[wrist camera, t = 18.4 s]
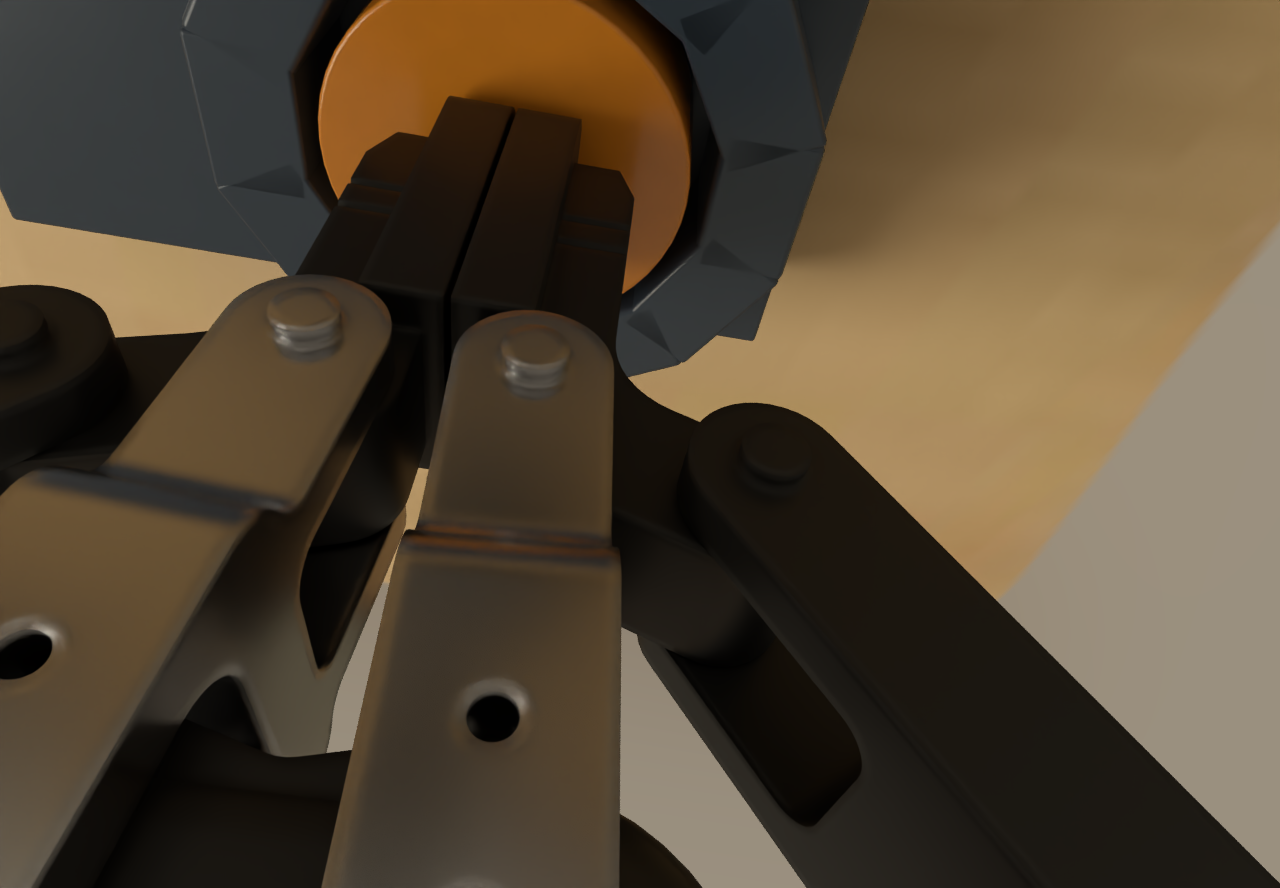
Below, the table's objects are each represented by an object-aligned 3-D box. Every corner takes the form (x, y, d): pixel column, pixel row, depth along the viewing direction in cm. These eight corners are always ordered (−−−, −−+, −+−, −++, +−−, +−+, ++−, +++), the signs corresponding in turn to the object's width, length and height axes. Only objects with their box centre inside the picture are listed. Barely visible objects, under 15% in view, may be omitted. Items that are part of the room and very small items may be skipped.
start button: (373, 219, 13) (336, 290, 12) (343, -116, 10) (289, -66, 8) (662, 269, 13) (655, 343, 12) (728, -42, 10) (729, 18, 9)
